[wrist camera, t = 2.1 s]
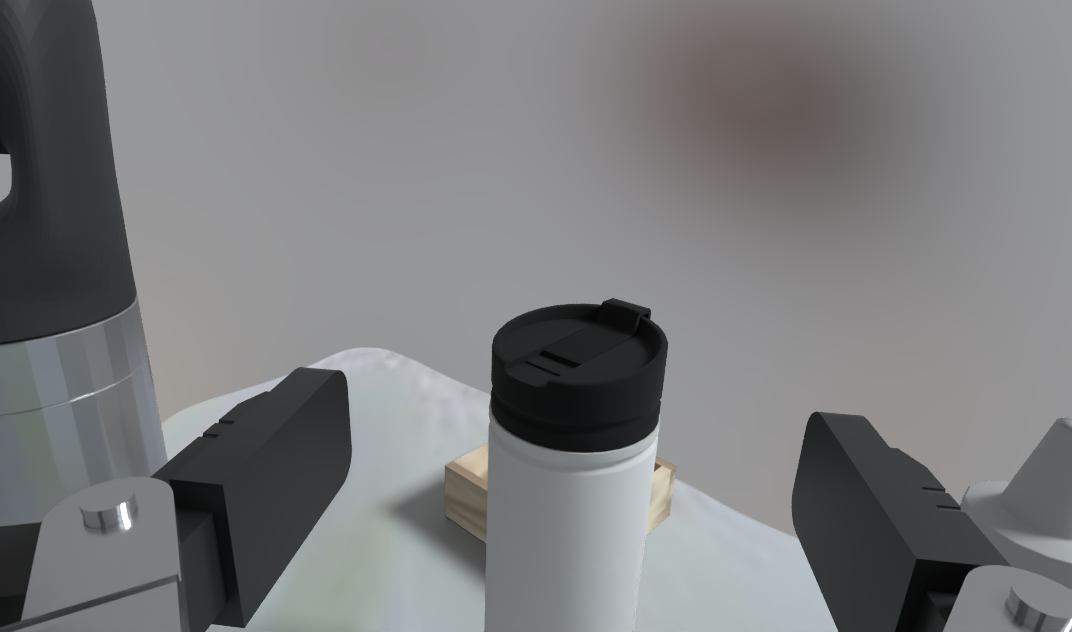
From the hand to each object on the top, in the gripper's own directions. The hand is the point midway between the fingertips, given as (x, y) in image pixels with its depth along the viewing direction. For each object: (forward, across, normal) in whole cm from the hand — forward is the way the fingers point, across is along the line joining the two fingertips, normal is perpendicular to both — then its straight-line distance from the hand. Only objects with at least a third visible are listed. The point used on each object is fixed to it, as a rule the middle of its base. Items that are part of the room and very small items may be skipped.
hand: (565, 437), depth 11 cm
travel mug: (+11, 0, +22) cm, 25 cm away
